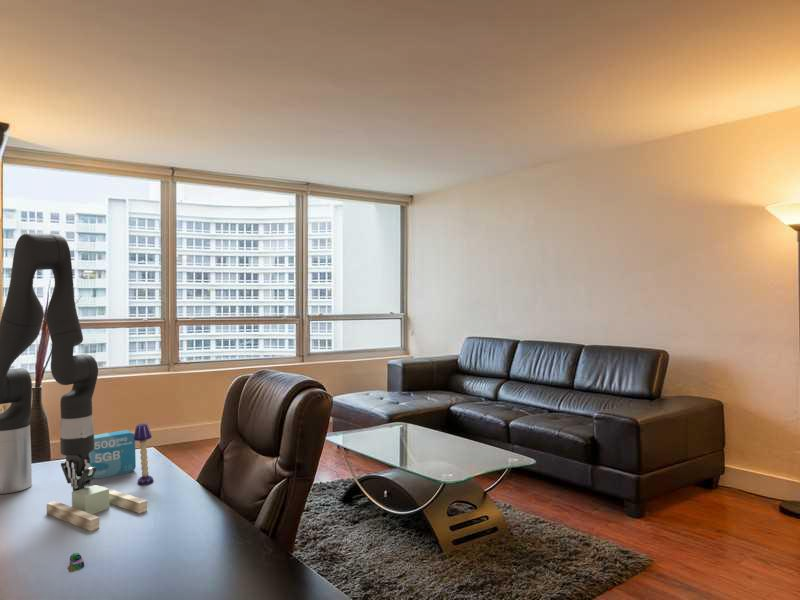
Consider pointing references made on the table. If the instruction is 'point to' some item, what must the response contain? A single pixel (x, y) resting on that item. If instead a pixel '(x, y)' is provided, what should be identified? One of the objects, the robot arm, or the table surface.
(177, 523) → the table surface
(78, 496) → the sage block
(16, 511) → the table surface
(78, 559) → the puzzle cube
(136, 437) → the toy lamp
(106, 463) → the data package
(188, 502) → the table surface
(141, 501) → the parallel wooden bars
